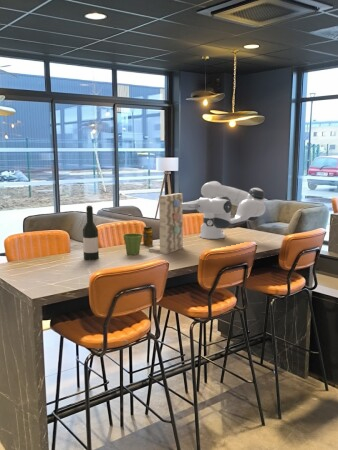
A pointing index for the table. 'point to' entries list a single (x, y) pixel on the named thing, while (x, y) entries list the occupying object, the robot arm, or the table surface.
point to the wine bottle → (90, 237)
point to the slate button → (176, 203)
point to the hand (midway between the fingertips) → (182, 204)
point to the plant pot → (132, 243)
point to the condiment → (147, 237)
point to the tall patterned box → (169, 224)
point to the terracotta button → (176, 216)
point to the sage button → (176, 229)
